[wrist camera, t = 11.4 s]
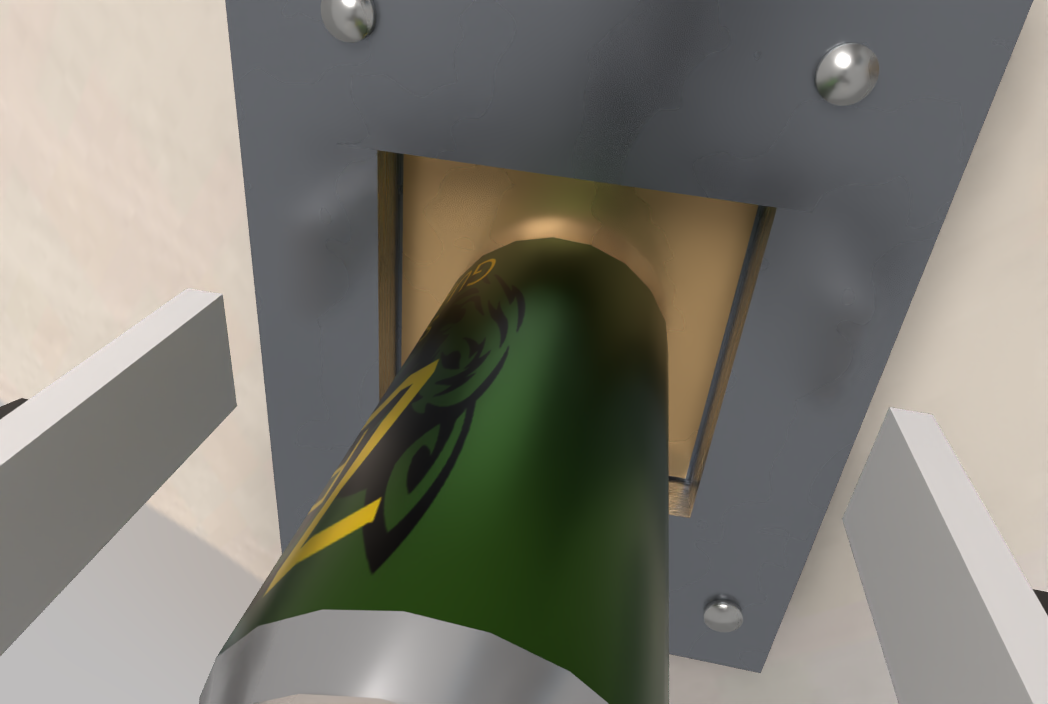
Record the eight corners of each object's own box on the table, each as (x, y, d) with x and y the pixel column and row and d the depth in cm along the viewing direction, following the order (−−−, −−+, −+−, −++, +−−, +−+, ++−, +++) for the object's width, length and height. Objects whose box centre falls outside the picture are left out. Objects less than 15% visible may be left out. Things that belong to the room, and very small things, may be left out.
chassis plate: (264, -150, 14) (202, -166, 12) (1011, -74, 13) (1070, -79, 11) (312, 526, 23) (280, 577, 21) (753, 615, 22) (761, 679, 20)
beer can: (706, 274, 16) (776, 847, 6) (619, 450, 19) (561, 1053, 9) (482, 192, 16) (152, 621, 6) (427, 380, 19) (137, 900, 9)
